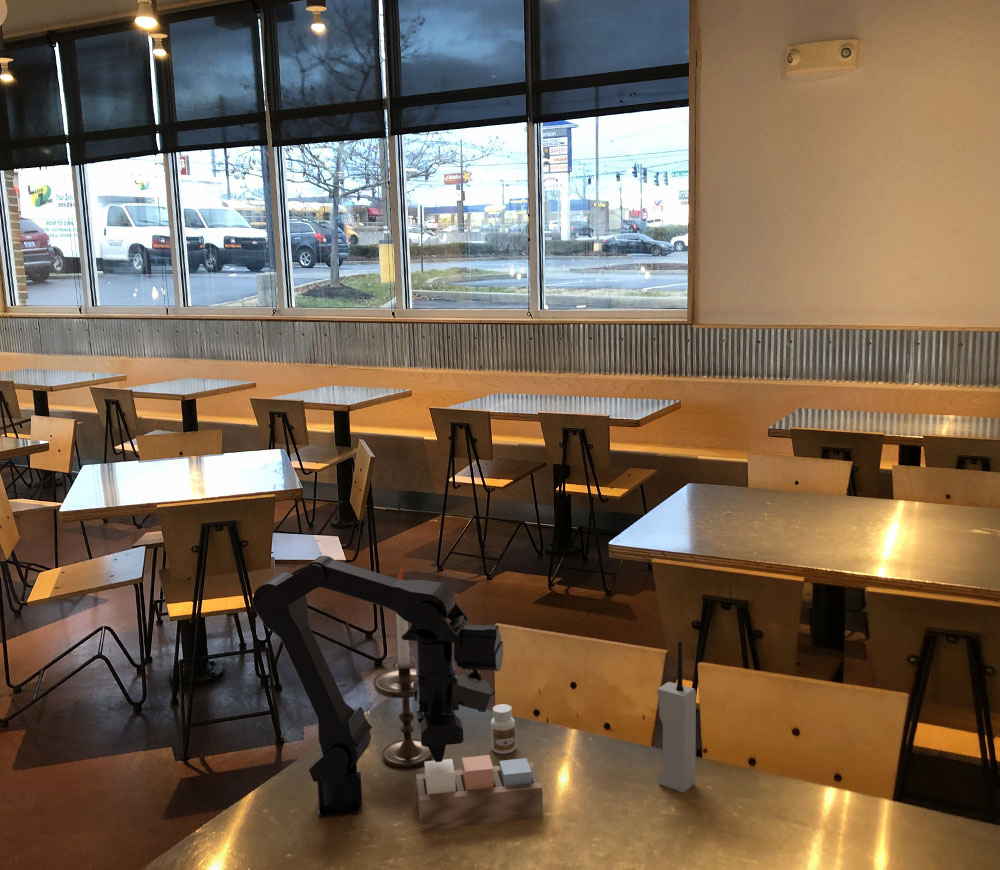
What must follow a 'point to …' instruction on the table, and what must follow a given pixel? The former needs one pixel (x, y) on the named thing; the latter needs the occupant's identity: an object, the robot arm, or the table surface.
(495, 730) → the pill bottle
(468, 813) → the key housing
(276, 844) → the table surface
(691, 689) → the vintage mobile phone
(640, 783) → the table surface
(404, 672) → the candlestick
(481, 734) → the table surface
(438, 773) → the key white
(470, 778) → the key terracotta
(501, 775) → the key slate
